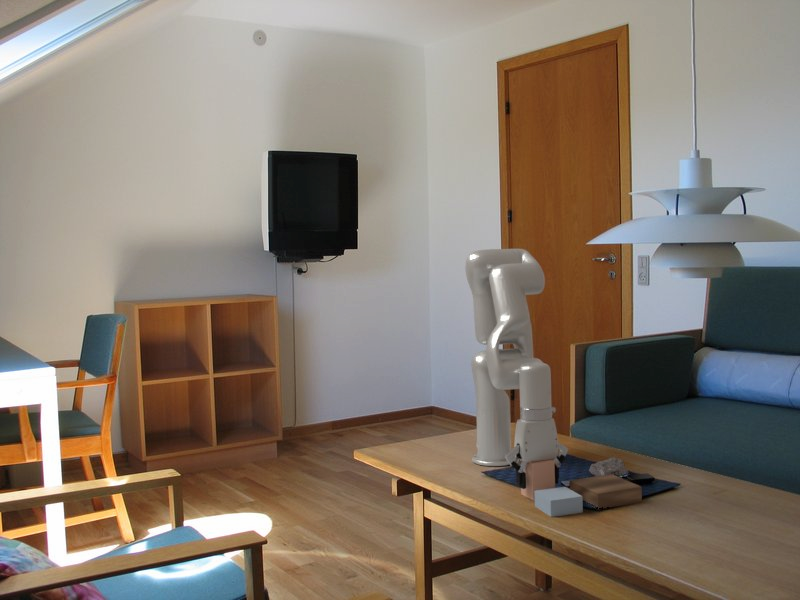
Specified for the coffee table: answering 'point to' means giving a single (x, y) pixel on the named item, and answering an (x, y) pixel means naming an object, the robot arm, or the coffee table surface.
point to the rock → (608, 467)
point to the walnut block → (606, 490)
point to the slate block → (558, 501)
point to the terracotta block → (539, 477)
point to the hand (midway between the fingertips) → (537, 484)
